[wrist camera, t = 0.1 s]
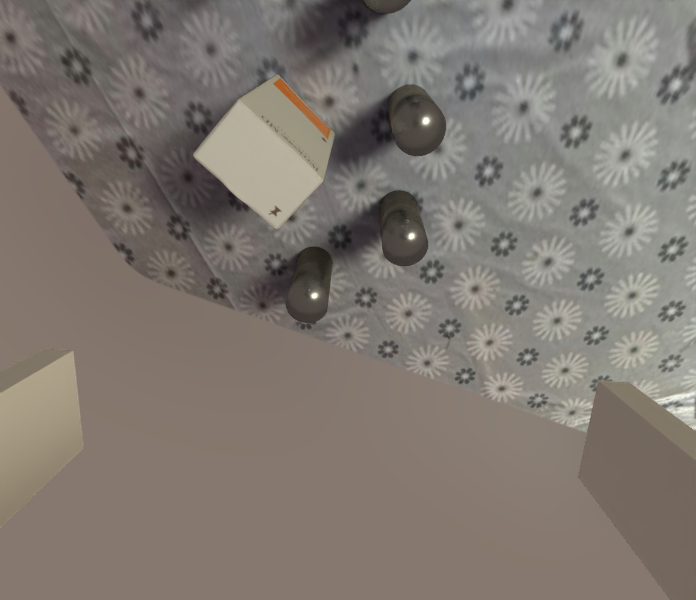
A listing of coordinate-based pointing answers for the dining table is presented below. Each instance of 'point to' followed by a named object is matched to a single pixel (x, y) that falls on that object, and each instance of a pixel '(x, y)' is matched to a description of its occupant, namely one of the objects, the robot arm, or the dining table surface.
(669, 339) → the dining table surface
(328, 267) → the set of grey cylinders
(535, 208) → the dining table surface
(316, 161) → the skincare box
